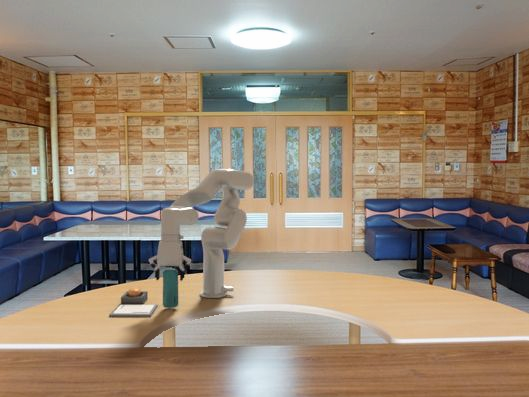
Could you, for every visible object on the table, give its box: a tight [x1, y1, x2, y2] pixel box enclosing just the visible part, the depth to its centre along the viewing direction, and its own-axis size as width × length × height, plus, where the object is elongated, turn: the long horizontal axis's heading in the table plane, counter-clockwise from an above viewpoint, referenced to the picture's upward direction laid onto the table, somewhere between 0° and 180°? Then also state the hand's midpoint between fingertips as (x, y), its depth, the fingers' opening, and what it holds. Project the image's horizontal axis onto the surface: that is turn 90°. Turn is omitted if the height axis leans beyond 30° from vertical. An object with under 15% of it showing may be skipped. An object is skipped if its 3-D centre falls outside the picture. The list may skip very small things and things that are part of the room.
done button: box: [128, 287, 141, 297], centre depth 187 cm, size 5×5×2 cm
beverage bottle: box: [162, 266, 180, 309], centre depth 178 cm, size 6×7×20 cm
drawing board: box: [108, 303, 159, 318], centre depth 175 cm, size 16×13×1 cm
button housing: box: [120, 290, 148, 304], centre depth 187 cm, size 9×9×4 cm
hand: (169, 279), depth 177 cm, fingers open, 9 cm apart
